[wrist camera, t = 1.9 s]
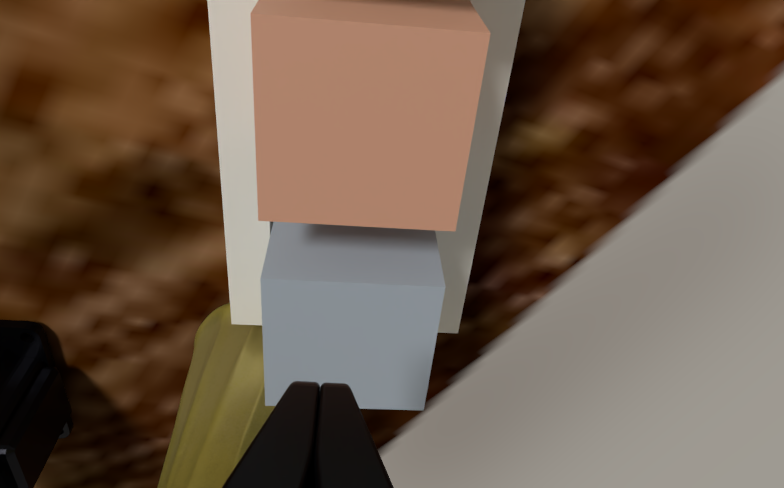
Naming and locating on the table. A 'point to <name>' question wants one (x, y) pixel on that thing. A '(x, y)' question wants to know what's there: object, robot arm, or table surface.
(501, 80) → the button board
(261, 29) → the salmon block
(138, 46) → the table surface
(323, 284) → the pale blue block
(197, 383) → the vase
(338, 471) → the robot arm
